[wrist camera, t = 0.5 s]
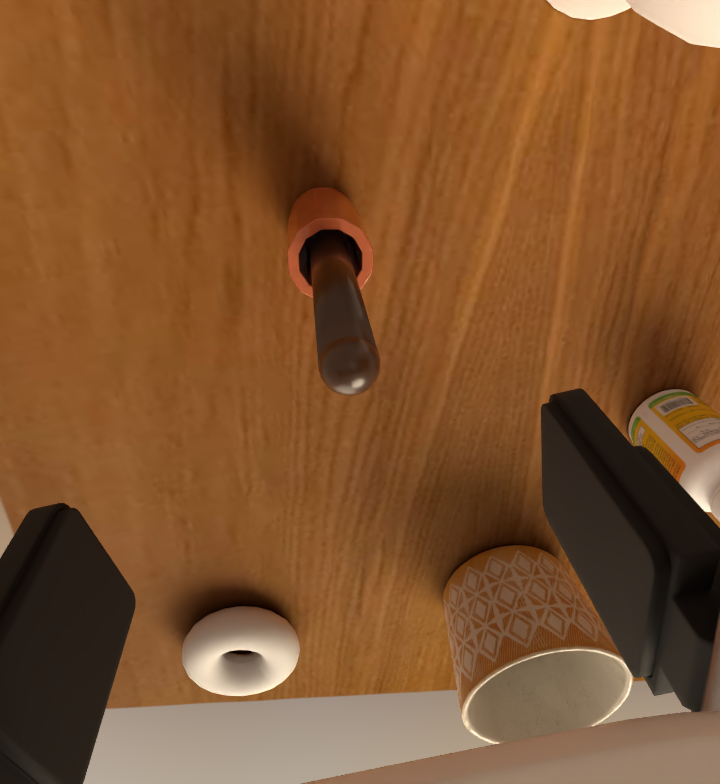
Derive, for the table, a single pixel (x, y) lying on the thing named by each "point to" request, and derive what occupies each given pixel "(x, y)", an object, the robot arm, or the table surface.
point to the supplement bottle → (682, 442)
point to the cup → (657, 15)
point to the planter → (528, 648)
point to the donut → (240, 632)
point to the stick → (340, 318)
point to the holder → (325, 213)
